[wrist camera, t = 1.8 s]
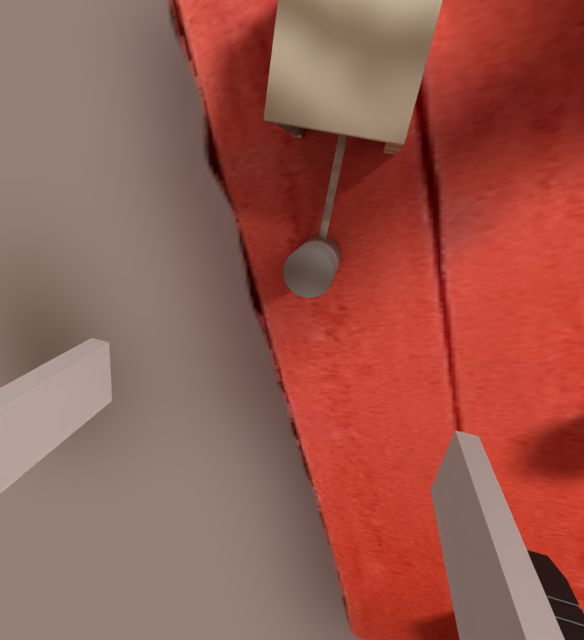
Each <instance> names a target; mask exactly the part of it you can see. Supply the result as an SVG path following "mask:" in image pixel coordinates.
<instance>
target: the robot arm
mask: <svg viewBox="0 0 584 640" xmlns="http://www.w3.org/2000/svg"><path fill="white" fill-rule="evenodd" d="M111 401H112V389H111V370H110V349H109V342H106V341H101V340H98V339H94V338H91V339H89V340H87V341H85V342H83V343H81V344H80V345H78V346H76V347H74V348H72V349H71V350H69V351H67V352H65V353H63V354H61V355H60V356H58V357H56V358H54V359H52V360H50V361H49V362H47V363H45V364H43V365H41V366H40V367H38V368H36V369H34V370H32V371H30V372H28V373H27V374H25V375H23V376H21V377H19V378H18V379H16V380H14V381H12V382H10V383H8V384H7V385H5V386H3V387H1V388H0V493H1V492H3V491H4V490H5V489H6V488H7V487H9V486H10V485H11V484H12V483H13V482H15V481H16V480H17V479H18V478H20V476H22V475H23V474H24V473H25V472H27V471H28V470H29V469H30V468H32V467H33V466H34V465H35V464H36V463H38V462H39V461H40V460H41V459H42V458H44V457H45V456H46V455H47V454H48V453H50V451H52V450H53V449H54V448H56V447H57V446H58V445H59V444H60V443H62V442H63V441H64V440H65V439H66V438H68V437H69V436H70V435H71V434H72V433H74V432H75V431H76V430H77V429H78V428H80V427H81V426H82V425H83V424H84V423H86V422H87V421H88V420H89V419H90V418H92V417H93V416H94V415H95V414H97V413H98V412H99V411H100V410H101V409H102V408H104V407H105V406H106V405H107V404H109V403H110V402H111ZM431 494H432V499H433V504H434V510H435V515H436V520H437V525H438V530H439V536H440V541H441V546H442V551H443V556H444V562H445V567H446V572H447V577H448V582H449V587H450V593H451V598H452V603H453V608H454V613H455V619H456V624H457V629H458V634H459V639H460V640H584V614H583V612H582V610H581V609H579V607H578V605H579V604H578V602H577V599H576V597H575V595H574V593H573V591H572V589H571V587H570V585H569V583H568V581H567V579H566V578H565V577H564V576H563V574H562V573H561V572H560V571H559V569H558V568H557V567H556V566H555V564H554V563H553V562H552V561H551V560H550V558H549V557H548V556H546V555H542V554H539V553H536V552H532V551H529V550H527V549H526V547H525V545H524V542H523V540H522V538H521V535H520V533H519V530H518V528H517V526H516V523H515V521H514V519H513V516H512V514H511V512H510V509H509V507H508V505H507V502H506V500H505V497H504V495H503V493H502V490H501V488H500V486H499V483H498V481H497V479H496V476H495V474H494V472H493V469H492V467H491V464H490V462H489V460H488V457H487V455H486V453H485V450H484V448H483V446H482V443H481V441H480V438H479V436H475V435H471V434H467V433H463V432H459V431H455V432H454V435H453V437H452V440H451V442H450V444H449V447H448V449H447V452H446V454H445V456H444V459H443V461H442V464H441V466H440V468H439V471H438V473H437V475H436V478H435V480H434V483H433V485H432V487H431Z"/></svg>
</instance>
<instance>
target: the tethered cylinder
mask: <svg viewBox="0 0 584 640" xmlns="http://www.w3.org/2000/svg"><path fill="white" fill-rule="evenodd" d="M347 137H348V136H345V135H339V136H338V141H337V146H336V151H335V156H334V161H333V166H332V171H331V176H330V181H329V186H328V191H327V196H326V201H325V206H324V211H323V216H322V221H321V226H320V231H319V236H314V237H311V238H310V239H308V240H307V241H306V242H305V243H304V244H302V245H301V246H300V247H299V248H298V249H297V250H295V251H294V252H293V253H292V254H291V255H290V256H289V257H288V258H287V260H286V262H285V264H284V268H283V277H284V281H285V283H286V285H287V287H288V288H289V289H290V290H291V291H292V292H293V293H294V294H296V295H298V296H300V297H304V298H314V297H317V296H320V295H322V294H323V293H325V292H326V291H327V290H328V288H329V287H330V285H331V283H332V281H333V278H334V276H335V274H336V271H337V269H338V266H339V264H340V261H341V251H340V248H339V246H338V245H337V243H336V242H335V241H334V240H333V239H331V238H329V237H327V233H328V228H329V223H330V218H331V213H332V209H333V204H334V199H335V194H336V189H337V185H338V180H339V175H340V170H341V166H342V161H343V156H344V151H345V146H346V142H347Z"/></svg>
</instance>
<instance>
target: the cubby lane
mask: <svg viewBox="0 0 584 640" xmlns="http://www.w3.org/2000/svg"><path fill="white" fill-rule="evenodd" d="M442 1H443V0H278V6H277V14H276V22H275V30H274V38H273V46H272V54H271V62H270V71H269V79H268V87H267V95H266V103H265V111H264V119H263V120H264V121H266V122H269V123H274V124H276V125H278V126H279V127H281V128H283V129H284V130H286V131H288V132H289V133H291V134H292V136H294V137H297V138H302V139H303V136H304V133H305V130H304V129H310V130H316V131H322V132H328V133H333V134H339V135H345V136H351V137H357V138H362V139H368V140H374V141H380V142H386V143H385V147H384V151H383V153H388V154H393V155H396V154H397V153H398V152H399V150H400V149H401V148H402V146H403V145H404V143H405V140H406V136H407V132H408V128H409V125H410V121H411V117H412V113H413V110H414V106H415V102H416V99H417V95H418V91H419V87H420V84H421V80H422V76H423V72H424V69H425V65H426V61H427V57H428V54H429V50H430V46H431V42H432V39H433V35H434V31H435V27H436V24H437V20H438V16H439V12H440V9H441V5H442Z"/></svg>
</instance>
